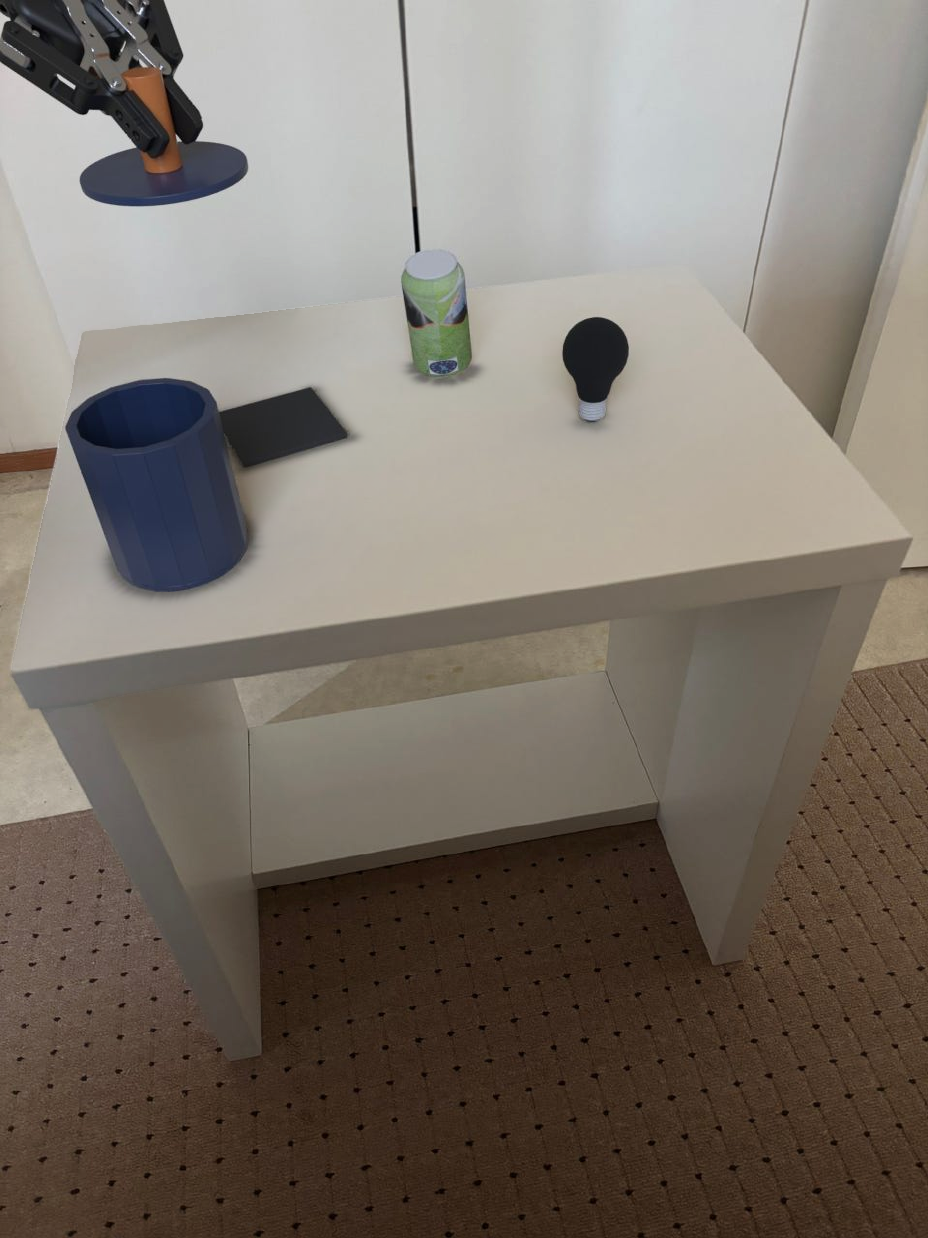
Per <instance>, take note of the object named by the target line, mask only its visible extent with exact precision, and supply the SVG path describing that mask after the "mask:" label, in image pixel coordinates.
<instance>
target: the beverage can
mask: <svg viewBox="0 0 928 1238" xmlns="http://www.w3.org/2000/svg"><path fill="white" fill-rule="evenodd" d="M400 283H401V290H402V296H403V303H404V310H405V316H406V322H407V331H408V337H409V343H410V348H411V350H410V351H411V357H412V364H413V366H414V367H415V369H416V370H418V372H419V373H421V374H423V375H426V376H429V377H431V378H437V379H444V378H451V377H453V376H456V375H457V374H459V373H460V372H462V371H464V370H465V369H466V368H467V367H468V366H469V365H470V364H471V361H472V358H473V351H472V343H471V331H470V320H469V319H470V318H469V310H468V299H467V288H466V287H467V286H466V275H465V271H464V267H463V266H462V265H461V264H460V262H459V261H458V258H457V257H456V255H455V254H454V253H452V252H451V251H449V250H446V249H441V248H428V249H424V250H420V251H417V252H416V253H414V254H412V255H410V256H409V257H408V259H407V260H406V261H405V265H404V269H403V270H402V273H401V276H400Z"/></svg>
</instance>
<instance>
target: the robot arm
mask: <svg viewBox="0 0 928 1238" xmlns="http://www.w3.org/2000/svg"><path fill="white" fill-rule="evenodd" d="M165 2H166V1H165V0H0V14H2V15H3V16H4V17H7V18H8V19H9V20H6V21H5V22H4V23H3V26H2V31H1V34H0V63H1V64H2V65H3V66H5V67H7V68H8V69H10V70H11V71H12V72H14V73H15V74H17V75H18V76H20V77H22V78H23V79H25V80H26V81H28V82H29V83H30V84H32V85H33V86H35V87H36V88H38V89H40V90H41V91H42V92H44V93H45V94H47V95H48V96H50V97H51V98H53V99H55V100H56V101H58V102H59V103H61V104H62V105H64V106H65V107H67V108H68V109H69V110H71V111H72V112H73V113H76V114H78V115H81V116H85V115H88V113H89V111H100V112H101V113H102V114H103V115H105V116H108V117H111V118H112V120H113V121H114V122H115V123H116V124H117V125H118V127H119V128H120V129H121V130H122V131H123V132H124V134H125V135H126V136H127V137H128V139H129V140H131V142H132V143H133V145H134V146H135V148H136V147H137V148H138V149H140V150H141V151H142V152H144V153H145V152H146V153H147V154H148V155H149V157H151V158H152V159H155V158H157V157H159V156H162V155H163V154H164V152H165V150H166V148H167V146H168V144H169V142H170V137H169V134H168V132H167V131H166V129H165V128H164V127H163V126H162V125H161V123H160V122H159V121H158V120H157V118H156V117H155V116H154V115H153V113H152V112H151V111H150V110H149V109H148V107H147V106H146V105H145V104H144V102H143V101H142V100H141V99H140V97H139V96H138V95H137V94H136V93H135V91H134V90H130V91H126V90H125V89H126V82H125V81H124V79H123V78H122V76H121V74H122V73H123V72H125V71H127V70H130V69H134V68H141V67H143V65H142V64H141V62H140V61H142V62H143V64H144V65H145V67H155V68H159V69H160V70H161V72H162V77H163V81H164V85H165V90H166V94H167V99H168V103H169V107H170V112H171V116H172V120H173V125H174V129H175V133H176V137H178V138H179V140H180V141H182V142H183V143H184V144H186V145H188V144H190V143H192V142H195V141H198V138H199V136H200V134H201V132H202V131H203V128H204V122H203V117H202V114H201V112H200V110H199V109H198V108H197V106H196V105H195V104H194V103H193V101H192V99H191V98H189V96H188V95H187V94H186V92H185V91H184V90H183V89H182V88H181V86H180V85H179V84H178V82H176V80H175V78H174V77H175V74H176V72H177V70H178V68H179V66H180V64H181V62H182V61H183V59H184V52H183V50H182V46H181V44H180V42H179V41H180V40H179V38H178V35H177V33H176V30H175V27H174V25H173V21H172V19H171V16H170V14H169V11H168V8H167V6H166V3H165ZM59 76H60V77H62V78H63V79H64V80H66V81H67V82H69V83H70V84H72V85H74V88H73V87H72V86H70V85H68V84H67V83H66V82H64V81H62V80H61V79H60V78H59Z"/></svg>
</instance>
